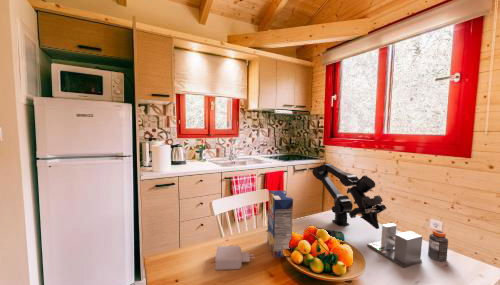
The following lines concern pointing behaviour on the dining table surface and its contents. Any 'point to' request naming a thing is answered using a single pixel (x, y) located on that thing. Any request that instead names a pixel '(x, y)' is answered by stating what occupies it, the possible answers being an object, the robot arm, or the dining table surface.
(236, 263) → the charger
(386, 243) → the white upright block
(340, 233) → the digital multimeter
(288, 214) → the juice carton
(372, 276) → the dining table surface
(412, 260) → the base
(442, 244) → the pill bottle
